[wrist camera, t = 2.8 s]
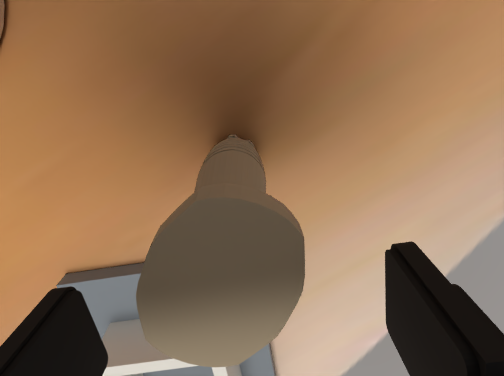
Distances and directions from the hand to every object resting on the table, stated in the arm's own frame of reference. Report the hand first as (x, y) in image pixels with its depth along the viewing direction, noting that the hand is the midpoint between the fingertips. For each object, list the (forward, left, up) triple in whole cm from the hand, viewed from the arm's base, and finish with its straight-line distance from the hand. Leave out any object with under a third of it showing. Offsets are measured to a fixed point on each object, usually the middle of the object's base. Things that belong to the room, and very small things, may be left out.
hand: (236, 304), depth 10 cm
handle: (0, 0, -15) cm, 15 cm away
